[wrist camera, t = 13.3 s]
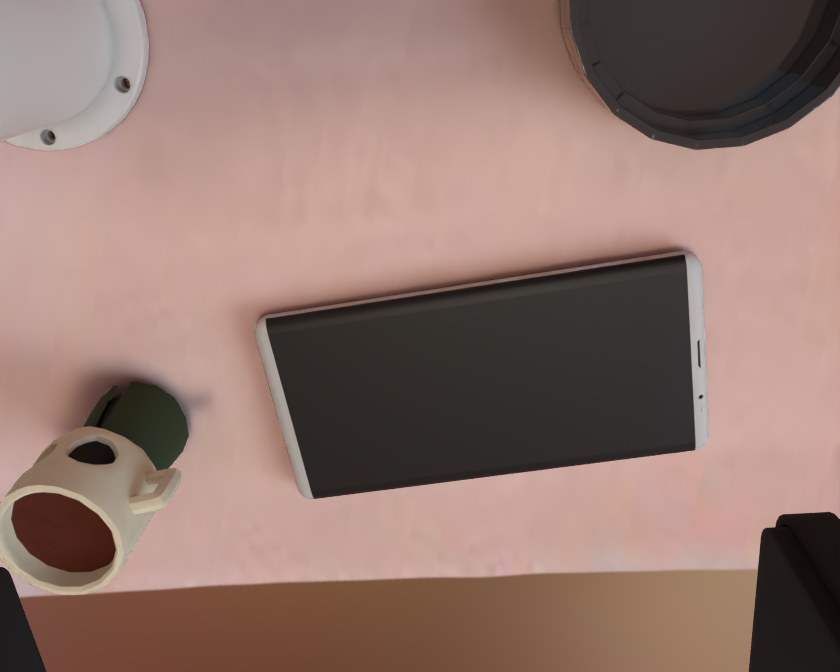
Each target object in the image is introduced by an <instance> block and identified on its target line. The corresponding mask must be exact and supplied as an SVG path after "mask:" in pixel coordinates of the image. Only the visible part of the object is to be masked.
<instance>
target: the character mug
mask: <svg viewBox="0 0 840 672" xmlns="http://www.w3.org/2000/svg"><path fill="white" fill-rule="evenodd" d="M117 387H118V385H117V386H113V387H112V388H111V389H110V390H109V391H108V392H107V393H106V394H104V395H103V396H102V397H101V398H100V400H99V401H98V403H97V404H96V406H95V407H94V409H93V411H92V412H91V414H90V415H89V417H88V419H87V421H86V423H85V425H84V427H80V428H77V429H74V430H71V431H70V432H68V433H66V434H65V435H63V436H61V437H59V438H58V439H56V440H54V441H53V442H52V443H51V444H50V445H49V446H48V447H47V448H46V449H45V450H44V451H43V452H42V453H41V455H40V456H39V457H38V459H37V460H36V462H35V463H34V465H33V467H32V468H30V469H29V470H28V471H26V472H25V473H24V474H22V476H21V477H20V478H19V479H18V480H17V481H16V482H15V484H14V485H13V487H12V489H11V490H10V491H9V492H8V493H7V495H6V496H5V497H4V499H3V500H2V501H1V502H0V558H1V560H2V561H3V562H4V563H5V564H6V566H7V567H8V568H9V569H10V570H11V572H12V573H14V574H15V575H17V576H18V577H20V578H21V579H23V580H24V581H26V582H27V583H29V584H31V585H32V586H34V587H36V588H39V589H43V590H46V591H49V592H53V593H56V594H59V595H78V594H87V593H89V592H92V591H94V590H97V589H100V588H102V587H105V586H106V585H107V584H108V583H109V582H110V581H111V580H112V578H113V577H114V576H115V575H116V574H117V573H118V572H119V571H120V570H121V568H122V567H123V566H124V564H125V562H126V561H127V559H128V557H129V555H130V554H131V552H132V550H133V548H134V547H135V545H136V543H137V542H138V540H139V538H140V536H141V535H142V533H143V531H144V529H145V528H146V526H147V524H148V523H149V521H150V519H151V517H152V516H153V514H154V512H155V510H158V509H161V508H164V507H165V506H166V505H167V504H168V503H169V502H170V500H171V498H172V496H173V495H174V493H175V491H176V489H177V487H178V486H179V484H180V481H181V471H179V470H178V469H176V468H169V467H170V466H171V465H172V464H173V462H174V461H175V460H176V459H177V457H178V456H179V455H180V454H181V453H182V451H183V449H184V446H185V444H186V441H187V438H188V436H189V435H188V429H187V422H186V417H185V415H184V413H183V411H182V410H181V408H180V406H179V404H178V402H177V401H176V399H175V398H174V397H173V396H171V395H170V394H168V393H167V392H165V391H164V390H162V389H161V388H159V387H158V386H156V385H151V384H147V383H142V382H138V381H135V382H131V383H130V385H129V386H128V387H127V389H126V390H125V392H124V393H123V394H120V395H119V396H117V397H115V398H113V399H112V400H110V398H111V396H112V395H113V393H114V392H115V390H116V388H117ZM109 400H110V401H109ZM168 468H169V469H168Z"/></svg>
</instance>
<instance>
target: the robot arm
mask: <svg viewBox="0 0 840 672" xmlns="http://www.w3.org/2000/svg"><path fill="white" fill-rule="evenodd" d="M148 56H149V38H148V32H147V25H146V18H145V15H144V12H143V9H142V6H141V3H140V0H0V141H5V142H7V143H9V144H12V145H14V146H18V147H23V148H27V149H32V150H40V151H60V150H66V149H71V148H77V147H80V146H82V145H85V144H88V143H90V142H93V141H95V140H96V139H98V138H100V137H102V136H104V135H106V134H108V133H109V132H110V131H111V130H113V129H114V128H115V127H116V126H117V125H118V124H119V123H121V122H122V121H123V120H124V119H125V117H126V116H127V114H128V113H129V112H130V110H131V109H132V108H133V106H134V105H135V103H136V101H137V99H138V97H139V94H140V92H141V90H142V88H143V85H144V81H145V76H146V72H147V67H148ZM125 79H128V80H129V82H130V88H129V87H127V86H126V85H125V83H124V80H125ZM51 132H53V133H54V135H55V139H54V138H53V137H52V135H51ZM0 672H46V669H45V666H44V664H43V661H42V658H41V656H40V653H39V650H38V648H37V645H36V642H35V639H34V637H33V634H32V631H31V629H30V626H29V623H28V621H27V618H26V615H25V612H24V610H23V607H22V604H21V602H20V599H19V596H18V593H17V591H16V588H15V585H14V583H13V580H12V577H11V575H10V573H9V571H8V570H6V569H5V568H3V567H0ZM749 672H840V519H839V518H838V517H837V516H836V515H835V514H833V513H831V512H821V513H802V514H783V515H781V516H779V518H778V520H777V522H776V527H775V528H765V529H764V530H763V532H762V535H761V543H760V554H759V565H758V577H757V588H756V598H755V610H754V620H753V632H752V642H751V654H750V664H749Z"/></svg>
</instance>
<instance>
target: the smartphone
mask: <svg viewBox="0 0 840 672" xmlns="http://www.w3.org/2000/svg"><path fill="white" fill-rule="evenodd" d="M254 334H255V338H256V342H257V345H258V349H259V352H260V356H261V359H262V363H263V366H264V370H265V374H266V377H267V381H268V384H269V388H270V391H271V395H272V398H273V402H274V405H275V409H276V413H277V416H278V420H279V423H280V427H281V430H282V434H283V437H284V441H285V444H286V448H287V452H288V455H289V459H290V462H291V466H292V469H293V473H294V476H295V480H296V483H297V487H298V490H299V492H300V493H301V495H303V496H304V497H306V498H309V499H317V498H325V497H333V496H341V495H349V494H356V493H364V492H372V491H380V490H388V489H396V488H403V487H411V486H419V485H427V484H435V483H443V482H450V481H458V480H466V479H474V478H482V477H489V476H497V475H505V474H513V473H521V472H529V471H536V470H544V469H552V468H560V467H568V466H575V465H583V464H591V463H599V462H607V461H615V460H622V459H630V458H638V457H646V456H654V455H662V454H669V453H677V452H685V451H693V450H698V449H701V448H702V447H704V446H705V445H706V443H707V442H708V439H709V423H708V400H707V376H706V353H705V329H704V305H703V282H702V265H701V262H700V260H699V259H698V258H697V257H696V256H695V255H694V254H693V253H691V252H688V251H679V252H672V253H666V254H659V255H653V256H646V257H640V258H633V259H627V260H620V261H614V262H607V263H601V264H594V265H588V266H581V267H575V268H568V269H562V270H555V271H549V272H543V273H536V274H530V275H523V276H517V277H510V278H504V279H497V280H491V281H484V282H478V283H471V284H465V285H458V286H452V287H445V288H439V289H432V290H426V291H419V292H413V293H406V294H400V295H393V296H387V297H381V298H374V299H368V300H361V301H355V302H348V303H342V304H335V305H329V306H322V307H316V308H309V309H303V310H296V311H290V312H283V313H277V314H270V315H266V316H263V317H262V318H261V319H260V320H259V321H258V323H257V324H256V326H255V330H254Z"/></svg>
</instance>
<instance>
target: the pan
mask: <svg viewBox="0 0 840 672" xmlns="http://www.w3.org/2000/svg"><path fill="white" fill-rule="evenodd" d="M560 6H561V29H562V32H563V35H564V38H565V41H566V44H567V47H568V50H569V53H570V56H571V59H572V62H573V65H574V68H575V70H576V72H577V73H578V75H579V76H580V77H581V79H582V80H583V81H584V83H585V84H586V85H587V87H588V88H589V89H590V90H591V92H592V93H593V94H594V96H595V97H596V98H597V100H598V101H599V102H600V104H601V105H602V106H604V107H605V108H606V109H607V110H609V111H610V112H611V113H613V114H614V115H615V116H617V117H618V118H620V119H622V120H623V121H625V122H626V123H628V124H629V125H631V126H632V127H634V128H635V129H637V130H638V131H640V132H641V133H643V134H644V135H646V136H648V137H649V138H651V139H653V140H657V141H662V142H666V143H670V144H674V145H678V146H682V147H686V148H690V149H694V150H695V149H696V150H700V149H713V148H725V147H737V146H745V145H747V144H750V143H752V142H755V141H757V140H760V139H762V138H765V137H768V136H770V135H773V134H775V133H778V132H780V131H783V130H785V129H788V128H790V127H792V126H793V125H794V124H796V123H797V122H798V121H800V120H801V119H802V118H804V117H805V116H806V115H808V114H809V113H810V112H812V111H813V110H814V109H816V108H817V107H818V106H820V105H821V104H822V103H824V102H825V101H826V100H828V99H829V98H830V97H832V95H834V93H835V92H836V91H837V90H838V88H839V87H840V0H560Z"/></svg>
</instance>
